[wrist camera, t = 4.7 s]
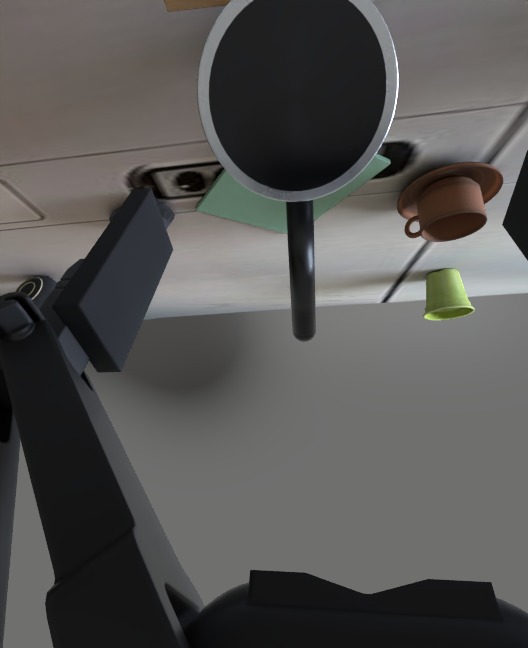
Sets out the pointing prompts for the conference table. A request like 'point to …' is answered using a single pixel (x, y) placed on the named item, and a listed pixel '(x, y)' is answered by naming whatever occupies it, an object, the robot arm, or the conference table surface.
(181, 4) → the wooden block
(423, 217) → the cup and saucer
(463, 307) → the plant pot
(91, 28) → the conference table surface
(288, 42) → the pot
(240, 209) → the mat
